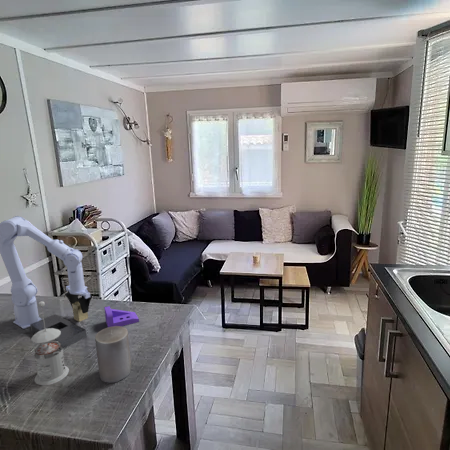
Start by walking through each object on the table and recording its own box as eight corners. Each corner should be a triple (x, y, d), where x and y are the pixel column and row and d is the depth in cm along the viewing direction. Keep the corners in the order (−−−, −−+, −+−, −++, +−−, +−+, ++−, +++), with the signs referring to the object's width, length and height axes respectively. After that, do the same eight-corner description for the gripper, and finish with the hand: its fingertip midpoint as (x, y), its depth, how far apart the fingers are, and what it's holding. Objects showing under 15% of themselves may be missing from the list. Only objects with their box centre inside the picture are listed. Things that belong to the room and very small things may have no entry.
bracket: (108, 330, 132) (107, 314, 131) (106, 322, 138) (104, 307, 137) (139, 322, 138) (137, 307, 136) (135, 315, 143) (133, 300, 142)
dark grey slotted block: (31, 331, 132) (30, 324, 131) (56, 320, 140) (55, 314, 139) (61, 349, 119) (60, 342, 118) (86, 336, 127) (85, 329, 126)
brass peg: (74, 319, 141) (72, 303, 139) (82, 315, 144) (80, 300, 142) (79, 321, 138) (77, 306, 137) (88, 317, 142) (86, 302, 140)
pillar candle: (106, 362, 111) (101, 322, 108) (135, 362, 111) (131, 322, 107) (94, 383, 102) (88, 339, 98) (126, 383, 101) (121, 339, 98)
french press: (45, 389, 99) (33, 312, 94) (24, 376, 105) (12, 303, 100) (75, 371, 107) (65, 299, 102) (54, 359, 113) (44, 291, 108)
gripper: (95, 280, 136) (99, 310, 139) (75, 273, 145) (79, 302, 148) (79, 285, 131) (83, 317, 134) (59, 278, 139) (64, 308, 142)
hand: (80, 310), depth 140 cm, fingers open, 7 cm apart
